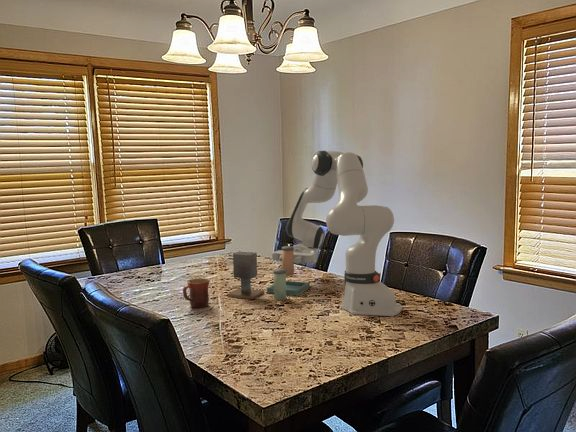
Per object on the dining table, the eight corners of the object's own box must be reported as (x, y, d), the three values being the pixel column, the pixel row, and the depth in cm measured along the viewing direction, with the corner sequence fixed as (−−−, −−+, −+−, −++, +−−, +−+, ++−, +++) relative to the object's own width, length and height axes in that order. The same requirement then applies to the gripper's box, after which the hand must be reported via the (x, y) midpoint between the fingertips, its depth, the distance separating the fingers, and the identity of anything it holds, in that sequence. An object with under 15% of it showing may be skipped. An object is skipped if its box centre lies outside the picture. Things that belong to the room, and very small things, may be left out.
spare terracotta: (296, 273, 211) (295, 246, 210) (291, 276, 206) (290, 248, 205) (285, 272, 213) (284, 245, 212) (280, 275, 209) (279, 247, 207)
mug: (200, 301, 196) (199, 277, 195) (215, 305, 191) (214, 279, 189) (177, 309, 186) (175, 283, 185) (192, 313, 181) (191, 286, 180)
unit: (264, 293, 206) (262, 252, 204) (253, 299, 197) (251, 256, 195) (239, 290, 211) (238, 250, 209) (227, 296, 202) (226, 254, 200)
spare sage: (288, 297, 199) (287, 269, 198) (283, 301, 194) (282, 272, 193) (277, 296, 201) (276, 268, 200) (271, 299, 196) (271, 271, 195)
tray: (309, 287, 214) (309, 282, 214) (297, 296, 201) (296, 290, 201) (280, 285, 220) (280, 280, 219) (267, 292, 207) (267, 287, 207)
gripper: (278, 246, 225) (265, 251, 212) (319, 248, 216) (308, 254, 204) (279, 259, 225) (265, 265, 213) (320, 262, 217) (308, 268, 204)
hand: (287, 260), depth 208 cm, fingers closed on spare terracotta, 5 cm apart
